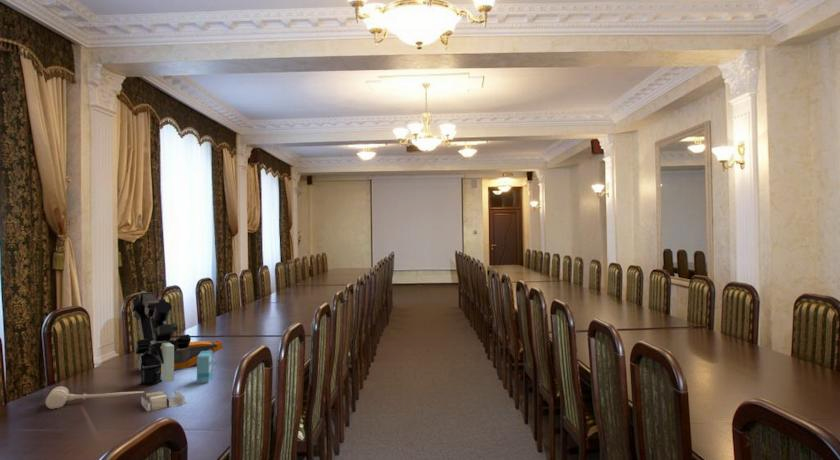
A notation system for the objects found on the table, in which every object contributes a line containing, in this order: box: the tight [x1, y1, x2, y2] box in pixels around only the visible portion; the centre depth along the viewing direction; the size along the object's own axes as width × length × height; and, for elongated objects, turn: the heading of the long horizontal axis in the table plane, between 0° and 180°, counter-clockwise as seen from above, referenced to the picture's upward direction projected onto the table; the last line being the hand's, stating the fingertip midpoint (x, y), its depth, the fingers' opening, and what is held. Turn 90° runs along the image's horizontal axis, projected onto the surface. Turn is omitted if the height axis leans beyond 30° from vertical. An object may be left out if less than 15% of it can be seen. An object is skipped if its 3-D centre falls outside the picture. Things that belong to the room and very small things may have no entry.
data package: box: [196, 351, 214, 384], centre depth 217 cm, size 12×4×12 cm, turn 14°
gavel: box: [45, 385, 143, 410], centre depth 193 cm, size 10×6×32 cm
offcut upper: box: [145, 390, 167, 404], centre depth 184 cm, size 8×5×2 cm, turn 39°
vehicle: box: [160, 339, 225, 372], centre depth 245 cm, size 14×34×10 cm, turn 125°
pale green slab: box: [160, 342, 175, 383], centre depth 194 cm, size 8×2×13 cm, turn 39°
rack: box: [140, 389, 188, 412], centre depth 186 cm, size 10×13×4 cm
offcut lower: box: [150, 401, 167, 410], centre depth 184 cm, size 8×5×2 cm, turn 39°
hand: (167, 362), depth 194 cm, fingers closed on pale green slab, 2 cm apart
